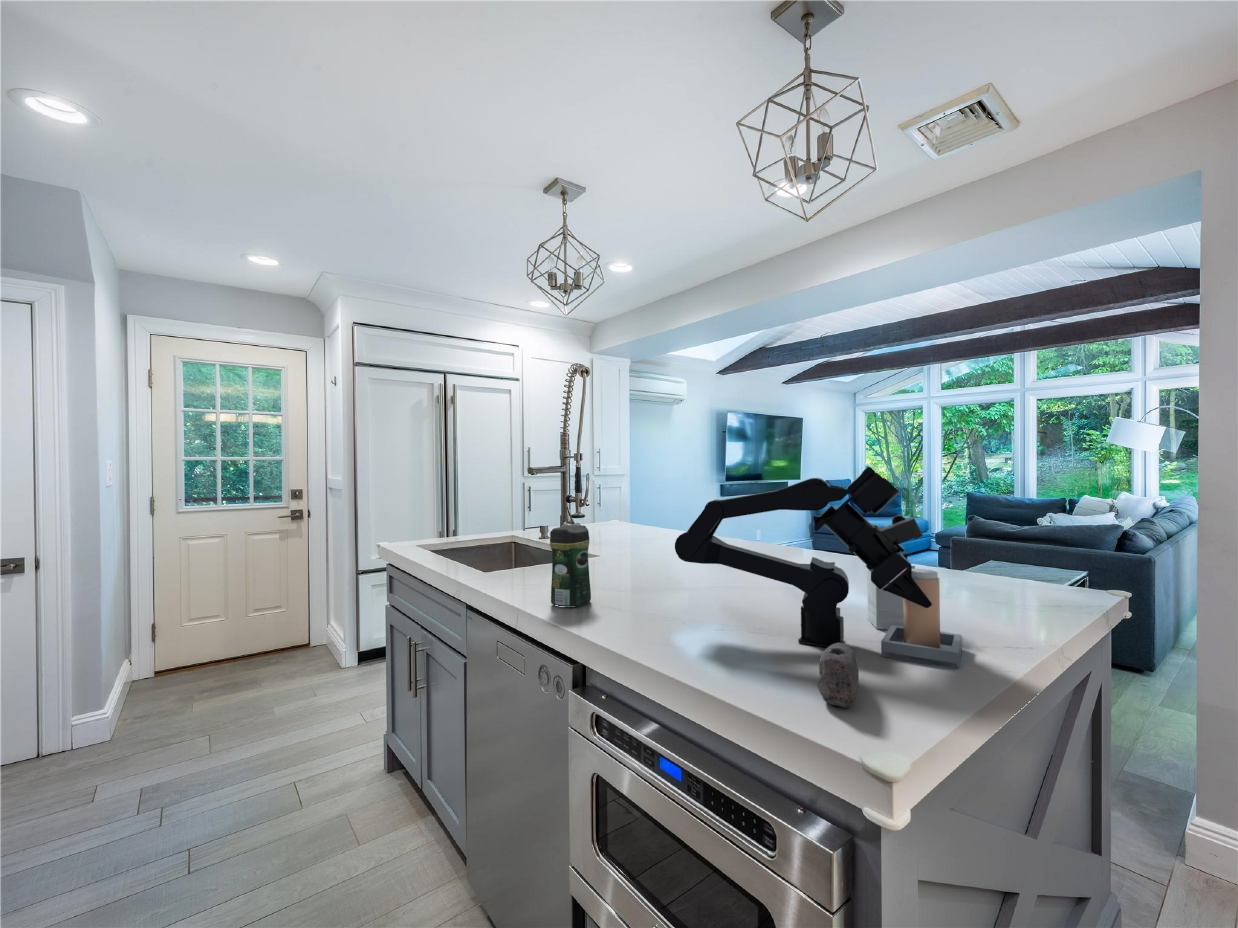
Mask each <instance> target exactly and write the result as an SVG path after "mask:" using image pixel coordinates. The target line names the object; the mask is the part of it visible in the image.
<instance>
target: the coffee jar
mask: <svg viewBox="0 0 1238 928" xmlns="http://www.w3.org/2000/svg"><path fill="white" fill-rule="evenodd" d="M549 546H550V550H551V556H552V558H551V559H552V561H551V562H552V564H551V584H550V585H551V589H550V603H551V604H552V605H553V604H555V605H558V606H577V607H579V606H578V605H580V604H583V605H585V604H587V603H589V602H590V601H591V600H592V590H591V589H592V588H591V579H590V567H589V566H590V565H589V547H590V531H589V528H587V526H586V525H578V524H570V525H569V524H568V525H563V526H559V527H558V526H557V527H555V528H552V530H550V532H549ZM588 601H589V602H588ZM584 603H585V604H584ZM555 605H554V606H555ZM580 606H581V605H580Z"/></svg>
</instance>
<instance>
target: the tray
mask: <svg viewBox="0 0 1238 928" xmlns="http://www.w3.org/2000/svg"><path fill="white" fill-rule="evenodd" d="M962 643H963V641H962V634H959V633H951V632H944V631H940V648H934V647H928V646H921V645H914V644H908V643H904V627H901V626H894V625H891V627H890V628H889V630H888V629H887V632H886V633H885V635H884V636H883V638H882V640H881V641H880V645H881V647H880V650H881V651H880V653H881V654H880V655H881V657H885V658H890V659H891V658H892V659H897V660H903V661H909V662H915V663H921V664H927V665H934V666H938V667H945V668H950V669H956V670H958V669H959V665H960V659H961V655H962V654H961V653H962V650H963V648H962V647H963V645H962Z"/></svg>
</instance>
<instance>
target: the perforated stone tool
mask: <svg viewBox="0 0 1238 928" xmlns="http://www.w3.org/2000/svg"><path fill="white" fill-rule="evenodd" d="M819 659H820V660H819V663H818V664H819V665H818V669H819V679H818V680H817V687H818V688H817V689H818V691H819V693H820V695H821V697H822V700H823V701H824V702H825V703H827V704H830V705H831V706H836V707H842V708H844V709H847V708H850V707H851V706H852V705H853V704H854V702H855V700H856V698H857V694H858V689H859V682H860V680H859V679H860V674H859V673H860V672H859V671H860V669H859V664H858V660H857V658H856V654H855V652H854V650H852V648H851V647H850V646H849V645H848V644H847V643H844V642H841V643H834V644H832V645H830V646H829V647H826V649H825V650H824V651H823V652H822V653H821V657H820V658H819Z"/></svg>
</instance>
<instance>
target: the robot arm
mask: <svg viewBox="0 0 1238 928" xmlns="http://www.w3.org/2000/svg"><path fill="white" fill-rule="evenodd" d="M899 494H901V491H899V489H897V488H896V487H895V485H894V484H892V483H891V482H890V481H889V480H887V478H885V477H882V475H880V474H879V473H878V472H877V471H876V470H875V469H873V468H872V467H871V466H867V467H866V468H864V470H863V471H862V473H861V474H860V475H859V476H858V477H857V478H856V479H854V480H853V481H852V483H850V484H849V485H848V486H847V487H845V486H843V485H840V486H839V485H838V486H837V485H831V484H829V483H828V482H827V481H826V480H824V479H822V478H820V477H810V478H809V479H805V480H802V481H800V482H797V483H794V484H791V485H789V486H786V487H783V488H780V489H777V490H771V491H765V492H759V493H754V494H748V495H742V496H736V497H730V498H724V499H719V498H718V499H714V500H711V501H709V502H707V503H706V504H705V505H704V508H703V510H702V512H701V513H700V514H699V516H698V517H696V519H695V521H694V522H692V524H691V525H690V526H689V529H687V531H686V532H683V533H681V534H680V535H678V537H677V538H676V539H675V541H674V551H675V553H676V555H677V557H678V558H679V559H680V560H681V561H684V562H686V563H693V564H702V565H703V564H704V565H722V566H726V567H730V568H733V569H735V570H739V571H743V572H745V573H750V574H753V575H758V576H759V577H763V578H766V579H770V580H773V581H777V582H781V583H784V584H787V585H791V586H794V587H795V588H797V589H798V590H801V591H802V592H803V593H804V594H803V597H802V600H801V603H802V605H801V606H800V637H799V638H798V639H797V641H798V643H800V644H804V645H805V644H806V645H811V646H816V647H817V646H818V647H823V648H828V647H829V646H830V645H832V644H834V643H843V642H842V641H844V639H845V631H844V630H845V627H844V626H845V625H844V624H845V623H844V621H845V620H844V617H843V616H842V615H841V607H837V605H838V604H840V603H842V602H844V600H845V599H847V597H848V595H849V592H850V591H849V590H850V585H849V584H850V583H849V578H848V575H847V574H846V572H845V571H844V570H843V569H842V568H841V567H839V566H836V561H832V562H831V561H829V562H828V561H824V560H822V559H820V558H818V557H814V556H812V557H811V561H810V563H798V562H794V561H790V560H787V559H783V558H779V557H776V556H773V555H768V554H766V553H762V552H758V551H754V550H750V549H747V548H744V547H739V546H736V545H732V544H729V543H727V542H725V541H723V540H722V539H720V538H719V537H717V536H715V533H716V532H717V529H718V528H719V526H720V524H722V521H723V520H724V519H730V518H736V517H737V518H738V517H742V516H749V515H755V514H760V513H768V512H773V511H783V510H784V511H787V510H788V511H809V512H810V511H812V512H813V511H815V512H816V511H819V510H823V509H824V508H826V507H827V506H828V504H829V503H833V502H839V501H842V500H843V499H844V498H846V497H847V495H849V497H848V498H847V499H846V500H845V501H844V502H842V504H840V505H839V506H838V507H835V506H834V505H830V506H829V507H828V508H827V509H826V510H825V511H823V513H821V514H820V515H815V514H814V515H813V517H812V519H813V522H814V523H813V525H814V527H813V530H814V532H818V531H819V530H821V529H822V528H823V527H824V526H825V527H826V528H827V529H828V530H830V532H831V533H833V534H834V536H836V537H837V538H838V539H839V540H840V541H841V543H843V545H845V546H846V547H847V551H849V553H851V554H854V555H855V556H856V557H857V558H859V559H860V561H862V563H864V565H865V568H866V569H867V568H868V569H869V570H870V571H871V581H872V582H873V583H874V584H875V585H876V586H877V587H878V588H879V589H881V588H882V590H884V591H887V592H890V593H892V594H895V595H897V596H900V597H902V598H904V599H907V600H909V601H911V602H914V603H916V604H918V605H920V606H923V607H925V608H929V607H930V606H931V605H932V603H931V602H930V600H929V599H928V598H927V596H926V595H925V594H924V592H923V591H922V590H921V588H920V587H919V586H918V584H917V583H916V582H915V580H914V579H913V578H912V566H911V564H912V563H911V562H910V561H909V560H908V553H907V551H905V547H903V546H902V545H901V544H903V543H905V542H908V541H910V540H913V539H914V540H916V539H919V538H922V537H923V536H924V534H923V531H922V530H921V528H920V527H919V525H918V522H917V520H916V519H915V517H914V516H909V517H907V518H905V517H904V516H903V515H902V514H897V515H895V516H892V517H891V524H889V525H887V526H886V527H883V528H880V527H879V526H878V525H876V524H872V523H870V522H869V521H868V520H867V519H866V517H864V516H863V515H862V514H861V513H860V512H859V511H858V510H857V509H855V508H854V507H853V506H852V504H850V502H852V503H853V504H854V505H855V506H856V507H857V508H859V509H860V511H862V512H863V513H864V514H865V515H868V514H870V513H873V514H875V515H876V514H878V513H879V512H880V511H881V510H882V509H884V507H885V506H887V505H888V504H889V503H890V502H892V500H894V499H895V498H896V497H897V496H898V495H899Z"/></svg>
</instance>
